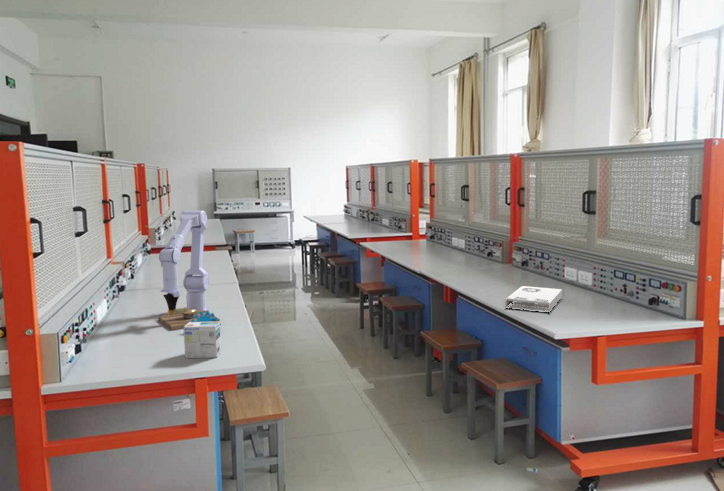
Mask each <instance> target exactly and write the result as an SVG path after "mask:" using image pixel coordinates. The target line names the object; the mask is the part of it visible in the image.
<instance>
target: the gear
mask: <svg viewBox="0 0 724 491" xmlns="http://www.w3.org/2000/svg"><path fill="white" fill-rule="evenodd" d="M209 313H210V311H206V313H205V315H204V316H202V315H203V312H200V318H198V315H197V314H196V315H194V318H196V319H197V321H196V322H213V321H212V320H214V321H217V318H218V317H217V316H215V313H214V312H211V313H210V314H211V315H209ZM206 315H209V316H206ZM214 316H215V318H210V317H214ZM191 322H195V321H194V319H192V320H191ZM220 326H221V323H220Z"/></svg>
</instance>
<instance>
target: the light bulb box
mask: <svg viewBox="0 0 724 491" xmlns="http://www.w3.org/2000/svg"><path fill="white" fill-rule="evenodd" d="M220 324H221V321H217V322H189V323H187V324H186V325H185V326H184V329H183V341H184V343H183V344H184V358H185V359H199V358H200V359H203V358H204V359H205V358H206V359H207V358H209V359H210V358H211V359H212V358H213V359H214V358H218V357H219V355H220V354H221V352H222V339H221V325H220Z"/></svg>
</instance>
